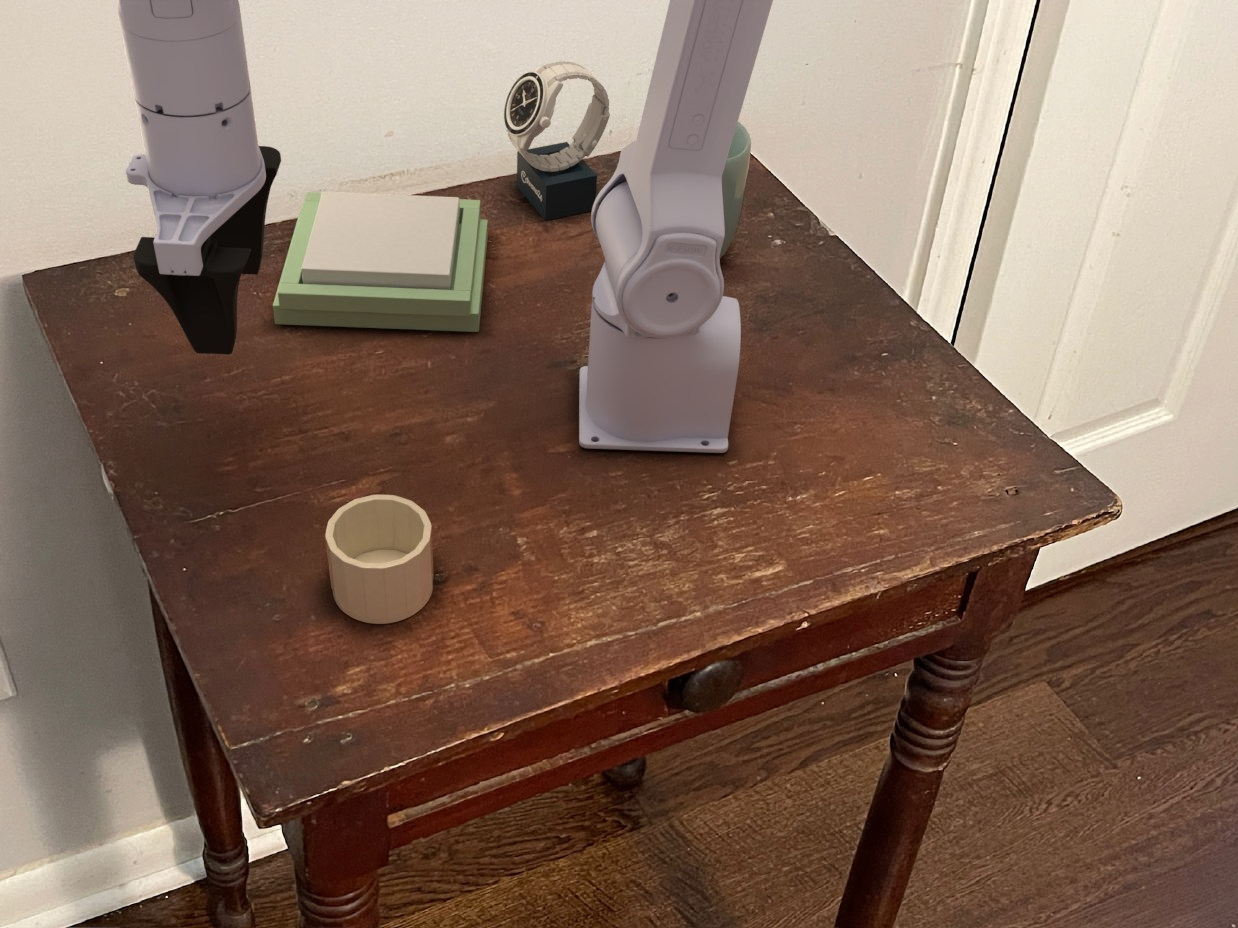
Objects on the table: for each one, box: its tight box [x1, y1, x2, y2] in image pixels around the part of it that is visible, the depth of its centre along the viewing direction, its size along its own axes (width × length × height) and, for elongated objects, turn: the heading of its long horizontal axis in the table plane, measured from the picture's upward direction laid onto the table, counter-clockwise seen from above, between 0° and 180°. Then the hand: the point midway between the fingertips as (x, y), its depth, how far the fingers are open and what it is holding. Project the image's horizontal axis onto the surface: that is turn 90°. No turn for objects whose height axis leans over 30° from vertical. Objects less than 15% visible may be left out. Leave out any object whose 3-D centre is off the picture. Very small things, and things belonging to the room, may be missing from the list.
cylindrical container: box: [324, 494, 435, 625], centre depth 75 cm, size 6×6×4 cm
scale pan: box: [301, 190, 461, 290], centre depth 96 cm, size 10×10×2 cm
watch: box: [503, 60, 611, 222], centre depth 104 cm, size 6×8×11 cm
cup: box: [720, 121, 752, 260], centre depth 100 cm, size 8×8×10 cm
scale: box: [272, 191, 489, 333], centre depth 97 cm, size 14×13×3 cm
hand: (228, 309), depth 78 cm, fingers open, 7 cm apart
